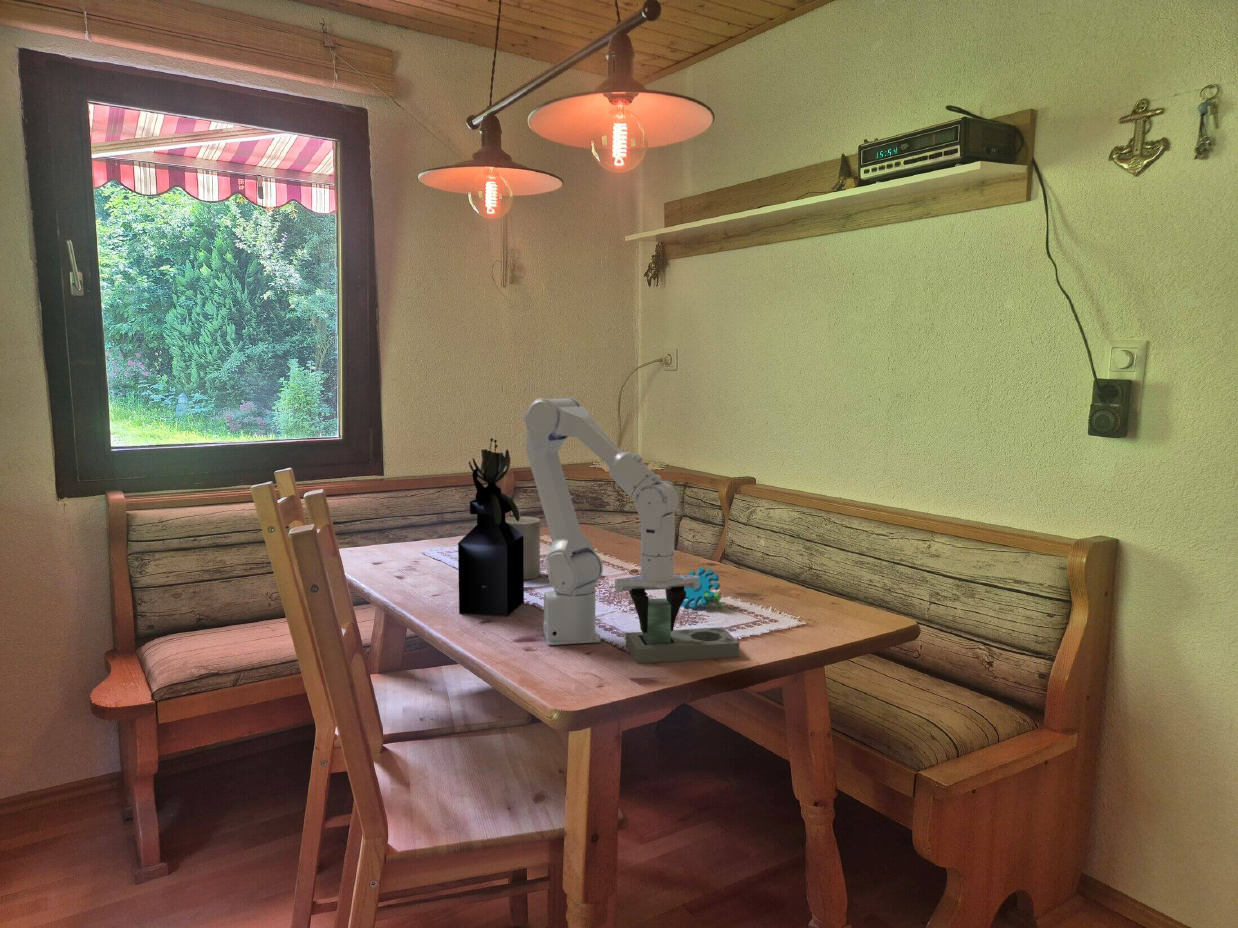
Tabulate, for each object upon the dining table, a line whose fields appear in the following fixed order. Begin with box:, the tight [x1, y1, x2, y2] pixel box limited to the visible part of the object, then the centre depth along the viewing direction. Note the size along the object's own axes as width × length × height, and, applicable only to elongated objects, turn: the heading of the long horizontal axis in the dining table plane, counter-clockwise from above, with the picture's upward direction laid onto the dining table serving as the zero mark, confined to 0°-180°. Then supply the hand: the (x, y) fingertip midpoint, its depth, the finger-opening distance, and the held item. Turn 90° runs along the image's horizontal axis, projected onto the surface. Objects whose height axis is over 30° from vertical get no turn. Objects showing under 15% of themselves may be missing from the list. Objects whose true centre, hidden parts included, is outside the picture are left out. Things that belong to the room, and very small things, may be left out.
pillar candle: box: [505, 513, 541, 581], centre depth 198 cm, size 10×10×15 cm
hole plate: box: [625, 626, 740, 665], centre depth 144 cm, size 18×9×2 cm, turn 102°
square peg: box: [643, 597, 671, 645], centre depth 143 cm, size 4×4×7 cm
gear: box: [681, 567, 723, 610], centre depth 174 cm, size 11×6×10 cm
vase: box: [457, 438, 525, 618], centre depth 168 cm, size 14×12×35 cm
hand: (656, 630), depth 143 cm, fingers closed on square peg, 4 cm apart
